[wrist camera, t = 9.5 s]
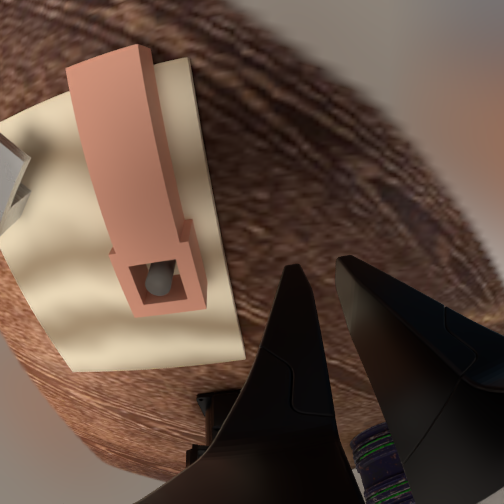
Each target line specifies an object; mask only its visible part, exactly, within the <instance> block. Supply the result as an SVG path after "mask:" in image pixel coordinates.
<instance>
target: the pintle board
mask: <svg viewBox="0 0 504 504" xmlns="http://www.w3.org/2000/svg"><path fill="white" fill-rule="evenodd" d="M153 66H154V72H155V78H156V84H157V89H158V95H159V100H160V106H161V111H162V116H163V122H164V127H165V132H166V137H167V142H168V147H169V151H170V156H171V161H172V166H173V170H174V175H175V179H176V184H177V188H178V193H179V197H180V201H181V206H182V210H183V214H184V218H185V220H188V219H193V223H194V228H195V232H196V236H197V240H198V245H199V249H200V253H201V257H202V261H203V265H204V269H205V273H206V277H207V281H208V284H207V309H203V310H196V311H188V312H180V313H172V314H164V315H156V316H147V317H138V318H135V317H134V315H133V313H132V311H131V308H130V306H129V304H128V302H127V299H126V297H125V295H124V292H123V290H122V288H121V285H120V283H119V281H118V278H117V276H116V273H115V271H114V268H113V266H112V263H111V261H110V258H109V253H110V251H111V249H112V247H113V245H112V242H111V240H110V237H109V234H108V231H107V228H106V225H105V222H104V219H103V216H102V213H101V210H100V207H99V204H98V201H97V198H96V194H95V191H94V188H93V184H92V181H91V178H90V174H89V170H88V167H87V163H86V160H85V156H84V152H83V148H82V144H81V140H80V136H79V132H78V128H77V123H76V119H75V114H74V110H73V105H72V100H71V95H70V91H68V92H66V93H63V94H61V95H58V96H56V97H53V98H51V99H49V100H46V101H44V102H42V103H39V104H37V105H35V106H33V107H31V108H28V109H26V110H24V111H22V112H20V113H18V114H16V115H14V116H12V117H10V118H8V119H6V120H4V121H2V122H0V133H1V134H3V135H4V136H5V137H6V138H7V139H9V140H10V141H11V142H12V143H14V144H15V145H16V146H17V147H18V148H20V149H21V150H22V151H23V152H25V153H26V154H27V155H28V156H30V157H31V159H30V162H29V164H28V166H27V168H26V170H25V173H24V175H23V177H22V179H21V183H22V184H23V185H25V186H26V187H27V188H28V189H30V190H31V193H30V196H29V198H28V200H27V203H26V205H25V207H24V210H23V212H22V215H21V217H20V218H19V219H18V220H17V221H16V222H15V223H14V224H13V225H12V226H10V227H9V228H8V229H7V230H6V231H5V232H4V233H3V234H2V235H1V236H0V249H1V251H2V253H3V255H4V257H5V260H6V262H7V264H8V266H9V268H10V270H11V272H12V274H13V276H14V278H15V280H16V282H17V284H18V285H19V287H20V289H21V291H22V293H23V295H24V297H25V298H26V300H27V302H28V304H29V305H30V307H31V309H32V311H33V312H34V314H35V316H36V317H37V319H38V321H39V322H40V324H41V326H42V327H43V329H44V330H45V332H46V334H47V335H48V337H49V338H50V340H51V341H52V343H53V344H54V346H55V347H56V349H57V350H58V352H59V353H60V355H61V356H62V357H63V359H64V360H65V362H66V363H67V365H68V366H69V367H70V369H71V370H72V371H73V372H101V371H128V370H146V369H160V368H173V367H184V366H194V365H204V364H213V363H221V362H229V361H237V360H244V359H246V356H245V348H244V344H243V339H242V334H241V330H240V325H239V320H238V316H237V311H236V306H235V302H234V297H233V292H232V287H231V282H230V278H229V273H228V268H227V263H226V258H225V253H224V248H223V243H222V238H221V233H220V228H219V222H218V217H217V212H216V207H215V202H214V196H213V191H212V186H211V180H210V175H209V169H208V164H207V158H206V153H205V147H204V141H203V136H202V130H201V124H200V119H199V113H198V107H197V101H196V95H195V89H194V83H193V76H192V70H191V64H190V58H188V57H186V58H181V59H176V60H171V61H167V62H163V63H158V64H154V65H153ZM146 266H147V268H148V271H149V272H148V275H147V278H146V281H145V287H146V289H147V290H148V291H149V292H150V293H151V294H153V295H156V296H163V295H166V294H167V293H168V292H169V291H170V289H171V284H172V279H173V275H176V274H180V273H179V269H178V266H177V262H176V259H173V260H167V261H161V262H154V263H148V264H146Z"/></svg>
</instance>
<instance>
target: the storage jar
mask: <svg viewBox="0 0 504 504" xmlns="http://www.w3.org/2000/svg"><path fill="white" fill-rule="evenodd" d="M350 446H351V449H352V450H353V459H354V462H355V464H356V469H357V471H358V473H360V475H361V479H362V482H363V486H364V489H365V491H364V497H365V500H366V504H415V501H414V498H413V495H412V492H411V489H410V486H409V483H408V480H407V478H406V475H405V472H404V469H403V464H402V463H401V460H400V457H399V455H398V452H397V449H396V447H395V444H394V441H393V439H392V436H391V433H390V431H389V428H388V425H387V423H386V422H384V423H381V424H378V425H376V426H373V427H371V428H369V429H367V430H365V431H363V432H361V433H360V434H358V435H357V436H356V437H355V438H353V440H352V441H351V443H350Z"/></svg>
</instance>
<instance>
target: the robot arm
mask: <svg viewBox="0 0 504 504" xmlns="http://www.w3.org/2000/svg"><path fill="white" fill-rule="evenodd" d="M335 284H336V290H337V293H338V296H339V299H340V303H341V306H342V309H343V312H344V316H345V319H346V322H347V326H348V329H349V332H350V335H351V337H352V340H353V342H354V345H355V347H356V349H357V352H358V354H359V356H360V359H361V361H362V363H363V366H364V368H365V371H366V373H367V375H368V378H369V380H370V383H371V385H372V388H373V390H374V392H375V395H376V397H377V400H378V402H379V405H380V407H381V410H382V413H383V415H384V418H385V420H386V423H387V425H388V428H389V431H390V433H391V436H392V439H393V441H394V444H395V447H396V449H397V452H398V455H399V457H400V460H401V463H402V464H403V469H404V472H405V475H406V478H407V480H408V483H409V486H410V489H411V492H412V495H413V498H414V501H415V504H504V336H503V335H501V334H499V333H497V332H495V331H492V330H490V329H488V328H486V327H484V326H482V325H480V324H478V323H476V322H474V321H472V320H470V319H468V318H467V317H465V316H463V315H461V314H459V313H457V312H456V311H454V310H452V309H450V308H449V307H447V306H446V307H444V305H443V304H441V303H439V302H438V301H436V300H434V299H432V298H430V297H429V296H427V295H425V294H423V293H421V292H420V291H418V290H416V289H414V288H412V287H410V286H409V285H407V284H405V283H403V282H401V281H399V280H398V279H396V278H394V277H392V276H390V275H388V274H386V273H384V272H383V271H381V270H379V269H377V268H375V267H373V266H371V265H369V264H367V263H366V262H364V261H362V260H360V259H358V258H356V257H354V256H352V255H347V256H341V257H338V258H337V259H336V277H335ZM197 402H198V404H199V406H200V408H201V410H202V412H203V414H204V416H205V418H206V446H205V445H198V444H192V449H190V450H187V451H186V469H184V470H183V471H182V472H180V473H179V474H178V475H176V476H175V477H173V478H172V479H170V480H169V481H168V482H166V483H165V484H163V485H162V486H160V487H159V488H157V489H156V490H155V491H153V492H151V493H150V494H148V495H147V496H145V497H144V498H142V499H141V500H139V501H137V502H136V503H133V504H365V502H364V500H363V497H362V494H361V492H360V489H359V487H358V484H357V482H356V479H355V477H354V474H353V472H352V469H351V467H350V464H349V462H348V460H347V457H346V455H345V452H344V450H343V447H342V445H341V442H340V439H339V435H338V430H337V424H336V419H335V411H334V405H333V399H332V392H331V386H330V380H329V375H328V369H327V363H326V358H325V352H324V347H323V341H322V336H321V330H320V325H319V320H318V315H317V310H316V305H315V300H314V295H313V291H312V288H311V285H310V283H309V281H308V279H307V277H306V275H305V273H304V271H303V269H302V267H301V266H300V264H292V265H286V266H285V267H284V269H283V272H282V276H281V279H280V282H279V286H278V289H277V292H276V295H275V298H274V302H273V305H272V308H271V311H270V314H269V318H268V321H267V324H266V327H265V330H264V333H263V336H262V339H261V343H260V346H259V349H258V351H257V354H256V357H255V360H254V363H253V365H252V368H251V371H250V373H249V376H248V378H247V380H246V382H245V384H244V386H243V388H242V390H238V391H230V392H221V393H211V394H201V395H197Z"/></svg>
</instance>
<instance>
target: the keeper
mask: <svg viewBox="0 0 504 504" xmlns="http://www.w3.org/2000/svg"><path fill="white" fill-rule="evenodd" d="M30 159H31V157H30V156H28V155H27V154H26V153H25V152H23V151H22V150H21V149H20V148H18V147H17V146H16V145H15V144H14V143H12V142H11V141H10V140H9V139H7V138H6V137H5V136H4V135H3V134H1V133H0V236H1V235H2V234H3V233H4V232H5V231H6V230H7V229H8V228H9V227H10V226H12V225H13V224H14V223H15V222H16V221H17V220H18V219H19V218H20V217H21V215H22V212H23V210H24V207H25V205H26V203H27V200H28V198H29V196H30V193H31V190H30V189H28V188H27V187H26V186H25V185H23V184H22V183H21V179H22V177H23V175H24V173H25V170H26V168H27V166H28V164H29V162H30Z"/></svg>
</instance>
